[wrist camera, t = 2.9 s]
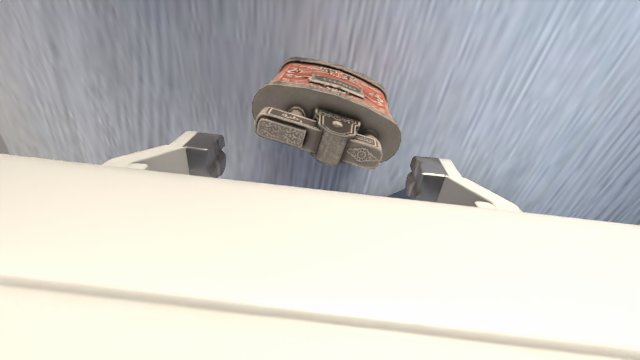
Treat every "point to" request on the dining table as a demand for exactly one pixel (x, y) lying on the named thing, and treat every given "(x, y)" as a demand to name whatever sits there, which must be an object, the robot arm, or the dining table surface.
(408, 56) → the dining table surface
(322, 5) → the dining table surface
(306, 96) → the lighter
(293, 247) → the robot arm
